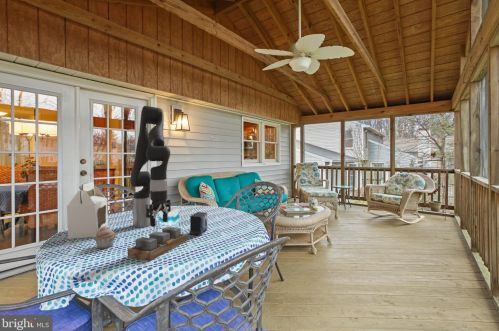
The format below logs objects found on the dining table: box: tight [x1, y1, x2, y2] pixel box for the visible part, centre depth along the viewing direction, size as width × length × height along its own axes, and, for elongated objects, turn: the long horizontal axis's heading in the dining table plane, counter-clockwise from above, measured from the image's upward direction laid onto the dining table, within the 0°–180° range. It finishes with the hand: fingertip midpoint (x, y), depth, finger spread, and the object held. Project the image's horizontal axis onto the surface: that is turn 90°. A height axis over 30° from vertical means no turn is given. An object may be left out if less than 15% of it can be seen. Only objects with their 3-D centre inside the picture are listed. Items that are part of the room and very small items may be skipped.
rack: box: [127, 226, 188, 262], centre depth 123 cm, size 12×26×7 cm, turn 159°
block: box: [148, 231, 170, 245], centre depth 123 cm, size 8×4×6 cm, turn 69°
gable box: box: [66, 181, 109, 240], centre depth 148 cm, size 22×13×28 cm, turn 13°
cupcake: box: [93, 226, 117, 249], centre depth 126 cm, size 9×9×10 cm
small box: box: [189, 211, 208, 236], centre depth 148 cm, size 11×6×10 cm, turn 168°
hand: (159, 224), depth 123 cm, fingers open, 8 cm apart
